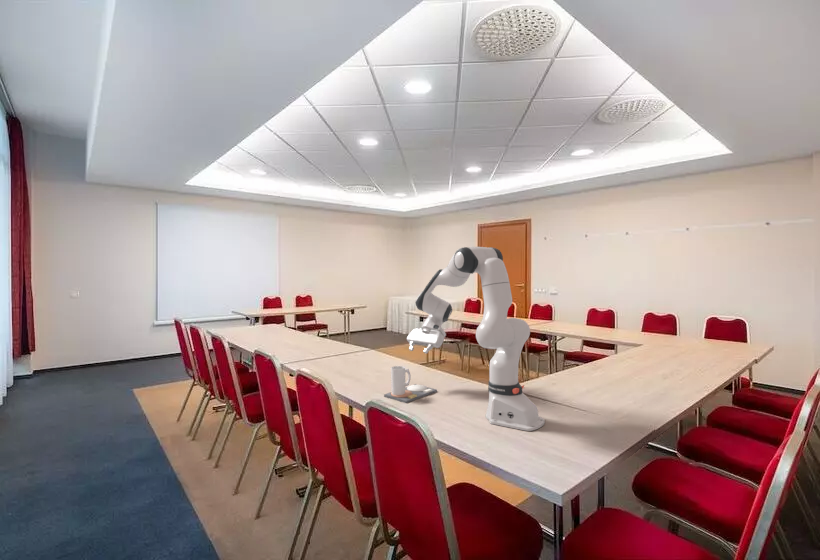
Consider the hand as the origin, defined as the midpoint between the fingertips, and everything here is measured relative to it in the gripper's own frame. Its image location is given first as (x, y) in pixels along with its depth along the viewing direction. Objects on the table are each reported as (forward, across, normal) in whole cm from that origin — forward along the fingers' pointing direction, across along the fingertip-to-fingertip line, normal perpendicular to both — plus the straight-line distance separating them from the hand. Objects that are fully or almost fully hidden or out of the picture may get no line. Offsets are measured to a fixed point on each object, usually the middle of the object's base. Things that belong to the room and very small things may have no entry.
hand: (417, 351), depth 192 cm
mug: (+21, 0, +4) cm, 21 cm away
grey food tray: (+18, +1, +9) cm, 20 cm away
